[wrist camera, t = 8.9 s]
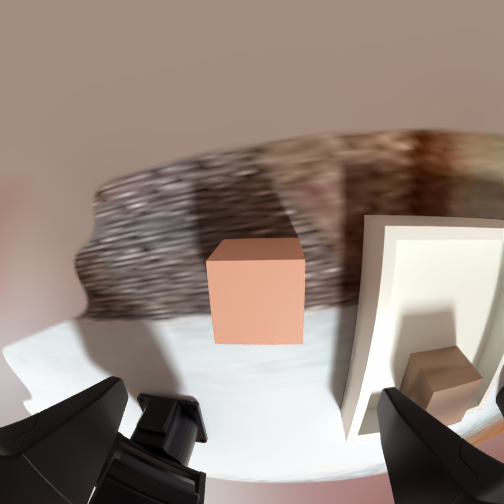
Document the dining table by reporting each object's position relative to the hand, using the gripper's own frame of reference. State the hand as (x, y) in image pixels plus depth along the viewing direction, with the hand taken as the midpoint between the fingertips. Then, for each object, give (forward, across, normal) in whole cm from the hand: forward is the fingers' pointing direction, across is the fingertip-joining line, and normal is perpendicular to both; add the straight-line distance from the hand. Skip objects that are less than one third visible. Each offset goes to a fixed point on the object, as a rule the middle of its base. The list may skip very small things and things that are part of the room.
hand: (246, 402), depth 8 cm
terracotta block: (+12, 0, 0) cm, 12 cm away
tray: (+12, -14, +5) cm, 19 cm away
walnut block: (+11, -14, +9) cm, 20 cm away
